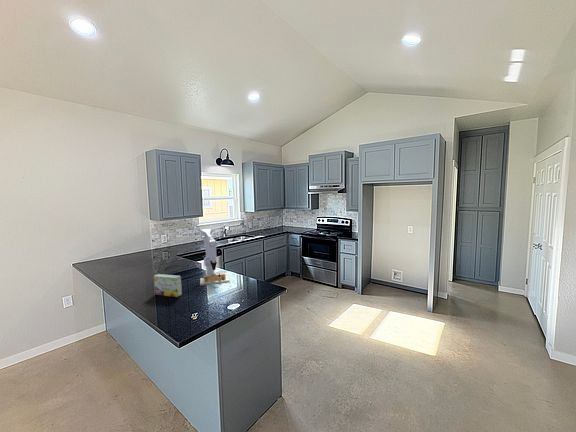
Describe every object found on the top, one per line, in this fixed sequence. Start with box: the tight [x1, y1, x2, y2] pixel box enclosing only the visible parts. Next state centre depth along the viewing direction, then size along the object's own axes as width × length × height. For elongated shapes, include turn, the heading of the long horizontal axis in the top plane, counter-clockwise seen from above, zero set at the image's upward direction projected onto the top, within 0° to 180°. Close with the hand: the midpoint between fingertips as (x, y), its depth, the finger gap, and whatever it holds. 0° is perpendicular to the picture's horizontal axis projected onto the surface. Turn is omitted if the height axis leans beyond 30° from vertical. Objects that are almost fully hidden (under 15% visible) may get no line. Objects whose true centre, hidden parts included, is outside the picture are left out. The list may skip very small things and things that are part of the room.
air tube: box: [203, 272, 227, 281], centre depth 229 cm, size 18×4×4 cm, turn 108°
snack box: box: [153, 273, 183, 298], centre depth 199 cm, size 21×6×15 cm, turn 73°
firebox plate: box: [199, 274, 230, 286], centre depth 229 cm, size 16×24×5 cm, turn 108°
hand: (213, 268), depth 234 cm, fingers open, 7 cm apart
